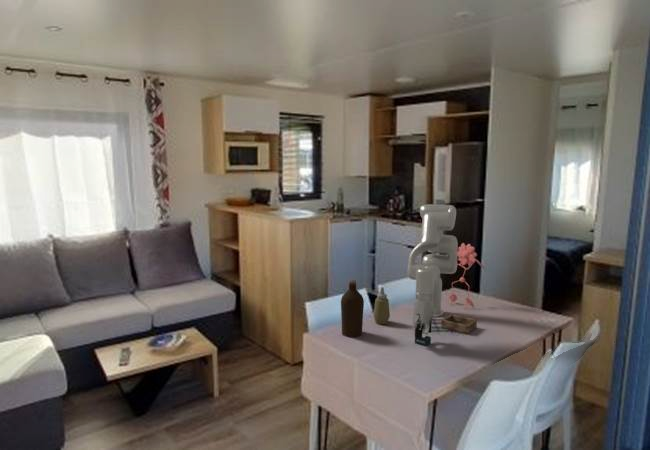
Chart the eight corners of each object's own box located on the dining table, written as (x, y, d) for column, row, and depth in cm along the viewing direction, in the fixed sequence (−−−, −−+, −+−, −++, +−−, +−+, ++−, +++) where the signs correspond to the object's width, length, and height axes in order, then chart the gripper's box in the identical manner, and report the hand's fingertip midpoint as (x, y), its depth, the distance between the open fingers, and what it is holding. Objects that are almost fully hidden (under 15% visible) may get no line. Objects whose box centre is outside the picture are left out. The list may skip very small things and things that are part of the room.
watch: (412, 344, 197) (413, 320, 195) (421, 339, 203) (422, 315, 201) (423, 348, 193) (424, 323, 192) (432, 342, 199) (433, 318, 198)
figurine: (477, 313, 238) (481, 248, 233) (437, 301, 258) (440, 241, 253) (493, 308, 247) (497, 245, 243) (453, 297, 267) (456, 239, 263)
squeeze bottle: (371, 324, 222) (372, 288, 219) (375, 318, 229) (376, 284, 226) (387, 326, 218) (388, 290, 216) (391, 321, 226) (392, 286, 223)
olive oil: (365, 337, 205) (366, 283, 202) (343, 338, 203) (343, 284, 200) (360, 328, 215) (361, 277, 212) (338, 330, 214) (338, 278, 210)
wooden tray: (441, 328, 216) (441, 320, 216) (450, 322, 225) (451, 314, 224) (467, 334, 208) (468, 326, 208) (476, 328, 217) (476, 320, 216)
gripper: (425, 290, 204) (424, 327, 206) (406, 299, 190) (405, 338, 193) (441, 293, 199) (439, 331, 202) (423, 302, 186) (421, 343, 188)
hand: (423, 334), depth 197 cm, fingers closed on watch, 8 cm apart
